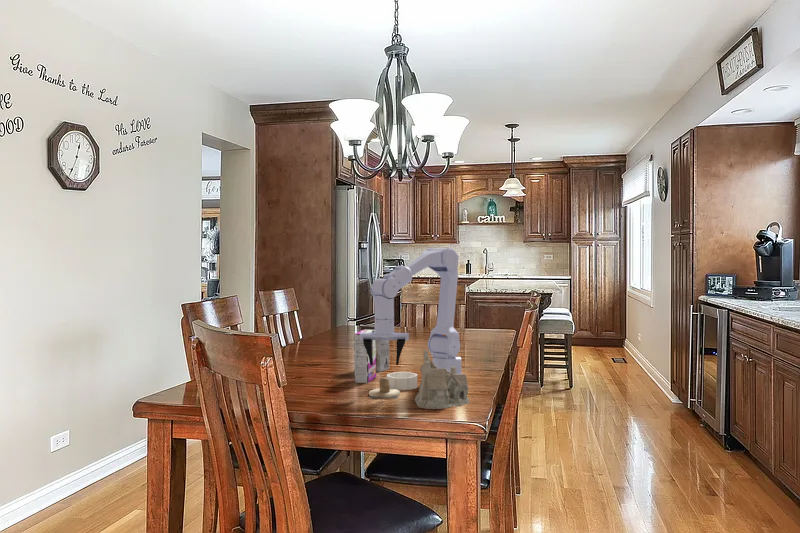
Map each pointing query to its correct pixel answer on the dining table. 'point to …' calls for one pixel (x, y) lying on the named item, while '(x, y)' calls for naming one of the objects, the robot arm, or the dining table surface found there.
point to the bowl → (402, 380)
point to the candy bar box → (364, 359)
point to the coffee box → (380, 351)
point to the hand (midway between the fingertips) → (384, 364)
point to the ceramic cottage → (441, 387)
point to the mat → (384, 398)
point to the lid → (384, 390)
